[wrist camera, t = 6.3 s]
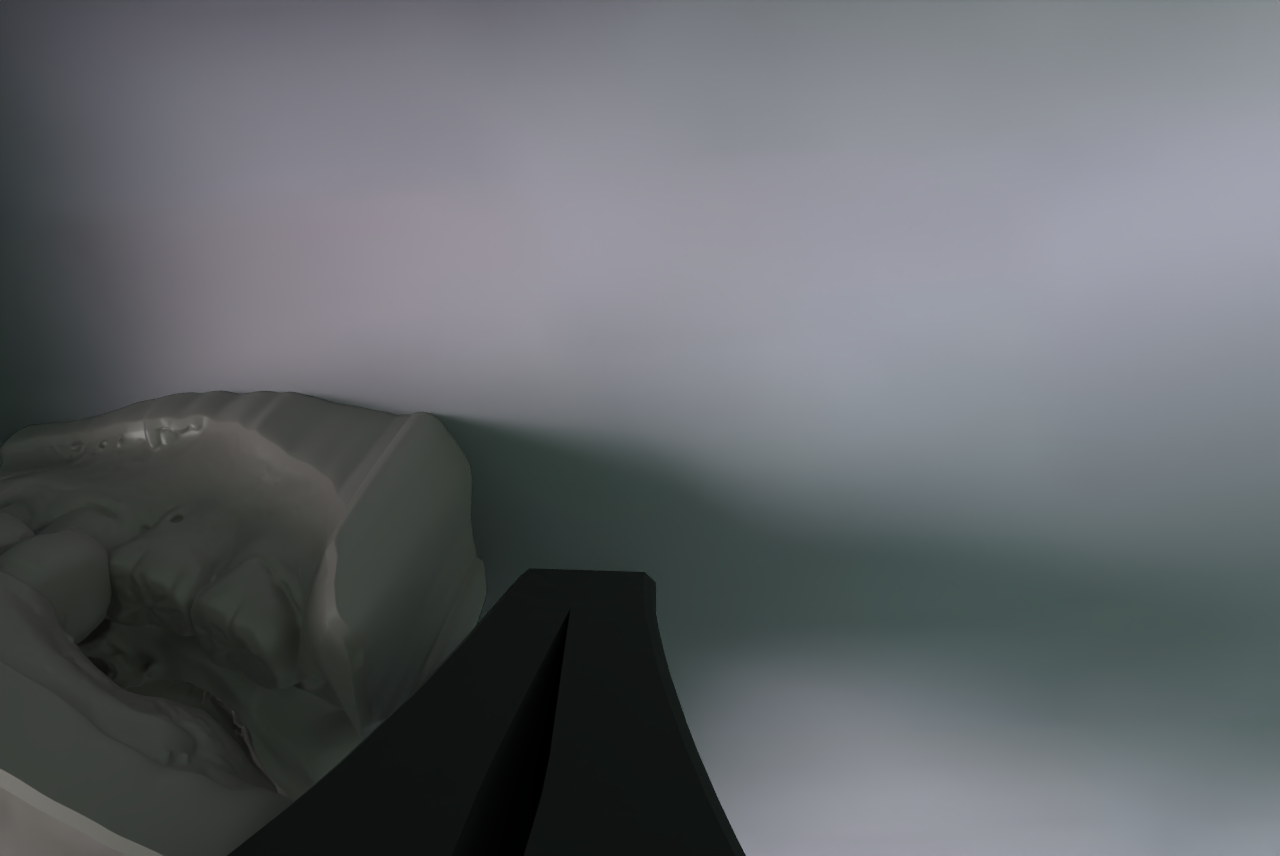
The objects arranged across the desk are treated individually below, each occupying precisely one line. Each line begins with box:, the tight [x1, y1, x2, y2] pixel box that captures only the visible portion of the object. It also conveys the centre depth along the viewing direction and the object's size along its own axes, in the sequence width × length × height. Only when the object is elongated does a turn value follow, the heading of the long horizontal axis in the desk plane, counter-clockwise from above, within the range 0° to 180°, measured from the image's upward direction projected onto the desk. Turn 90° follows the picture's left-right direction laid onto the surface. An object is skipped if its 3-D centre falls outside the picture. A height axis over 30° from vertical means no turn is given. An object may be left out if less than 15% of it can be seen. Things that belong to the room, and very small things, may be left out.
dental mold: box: [0, 391, 487, 856], centre depth 9 cm, size 8×7×5 cm
